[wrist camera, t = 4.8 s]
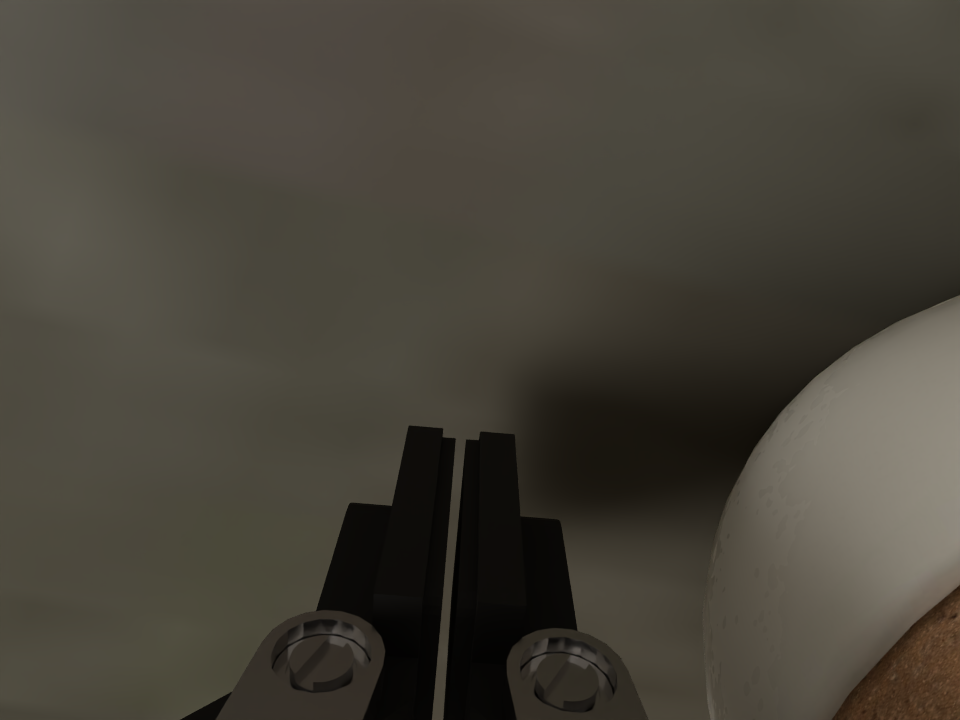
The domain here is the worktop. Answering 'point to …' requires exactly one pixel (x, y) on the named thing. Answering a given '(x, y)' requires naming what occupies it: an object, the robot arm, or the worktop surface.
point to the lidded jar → (847, 543)
